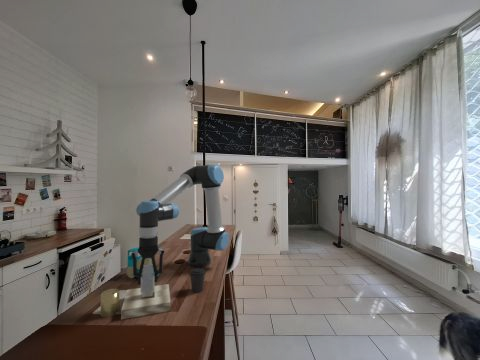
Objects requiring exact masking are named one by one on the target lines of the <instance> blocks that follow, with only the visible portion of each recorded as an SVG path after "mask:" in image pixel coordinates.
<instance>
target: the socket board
mask: <svg viewBox="0 0 480 360" xmlns="http://www.w3.org/2000/svg"><path fill="white" fill-rule="evenodd" d="M170 292H171V291H170V284H169V283H167V284H166V283H165V284H159V285H158V284H157V285H155V287H154V291H153V294H152V296H148V297H142V293H141V287H139V288H129V289H127V290H126V293H125V297H124V299H123V304H122V307H121V311H120V316H121V317H120V321H121V320H127V319H132V318H137V317H143V316H149V315H154V314H158V313H159V314H160V313H165V312H170V311H171V293H170Z"/></svg>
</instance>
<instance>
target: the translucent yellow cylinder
mask: <svg viewBox="0 0 480 360" xmlns="http://www.w3.org/2000/svg"><path fill="white" fill-rule="evenodd" d="M118 311H119V312H120V289H118V288H111V289H106V290H104V291H102V292H101V293H100V313H99V315H100V316H101V317H102V318H109V317H113V316H115V315H117V314H118V313H119V312H118ZM117 312H118V313H117ZM116 313H117V314H116Z"/></svg>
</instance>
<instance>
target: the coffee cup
mask: <svg viewBox="0 0 480 360" xmlns="http://www.w3.org/2000/svg"><path fill="white" fill-rule="evenodd" d="M206 273H207V271H206V269H204V268H201V267H195V268H193V269H191V270H189V272H188V274H189V275H190V284H191V292H192V293H194V294H199V293H201V292H203V290H204V286H205V285H204V284H205V275H206Z"/></svg>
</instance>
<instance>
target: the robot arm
mask: <svg viewBox="0 0 480 360" xmlns="http://www.w3.org/2000/svg"><path fill="white" fill-rule="evenodd" d="M224 177H225V175H224V171H223V169H222V168H221V166H219V165H217V164H207V165H196V166H193V167H190V168H189V169H187V170H186V171H184V172H182V173H181V174H180V175H179V178H178V179H177V180H175V181H173V182H172V183H171V184H170V185H168V186H167V187H165V188H164V189H163V190H161V192H158V194H156V195H155V196H154V197H152V198H151V199H150V200H143V201H141V202H140V203H139V204H138V205H137V206H136V209H135V210H136V215H138V217H139V226H138V227H139V231H138V234H139V236H138V237H139V238H138V239H139V241H138V248H139V249H138V250H137V251H135V252H131V254H130V255H132V258H133V276H137V277H136V278H137V285H140V288H141V293H142V284H143V275H141V274H142V270H143V265H144V261H145V259H147V258H151V260H152V264H153V269H154V274H153V291H154V287H155V286H156V285H155V283H158V276H159V275H160V274H162V272H163V259H164V258H163V256H164V254H165V248H160V247H159V245H158V244H159V239H158V234H159V222H161V221H169V220H174V219H176V218H177V217H178V216H179V214H180V208H179V206H178V205H177V204H176V203H171V202H172V201H173V200H175V199H176V198H177V197H179V196H180V195H181V194H182V193H184V192H185V190H187V189H188V188H191V187H193V186H195V185H201V189H203V190H204V196H205V205H206V214H207V215H206V217H207V224H208V225H207V226H208V227H207V226H204V227H197V228H196V227H195V228H193V229H191V230H190V253H189V256H188V259H187V265H188V266H190V267H194V268H201V267H206V266H209V265H211V263H212V259H211V255H210V252H209V250H214V251H217V252H218V251H221V252H222V251H223V252H224V250H226V249H227V248H228V246H229V243H230V235H229V233H228V232H227V231H226V228H225V227H224V226H223V222H222V212H221V209H222V208H221V203H220V201H221V200H220V188H221V187H222V186H221V184H222V183H223V182H224V179H225V178H224ZM157 253H158V255H159V261H158V262H159V263H158V264H159V265H158V268H157V263H156V262H155V261H156V258H155V256H156V255H157ZM138 254H139V255H138ZM137 256H141V257H142V261H141V265H140V269H139V272H137ZM158 274H159V275H158ZM157 275H158V276H157Z"/></svg>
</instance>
